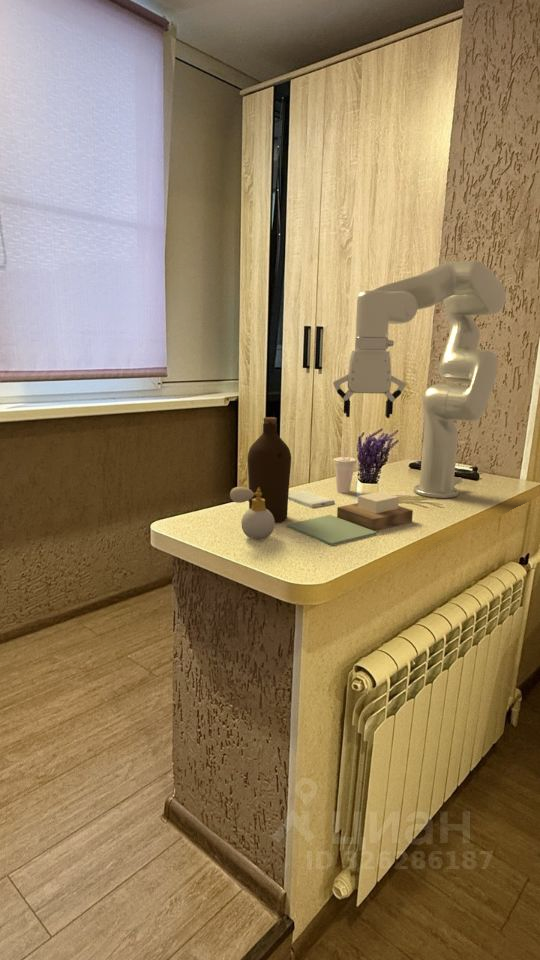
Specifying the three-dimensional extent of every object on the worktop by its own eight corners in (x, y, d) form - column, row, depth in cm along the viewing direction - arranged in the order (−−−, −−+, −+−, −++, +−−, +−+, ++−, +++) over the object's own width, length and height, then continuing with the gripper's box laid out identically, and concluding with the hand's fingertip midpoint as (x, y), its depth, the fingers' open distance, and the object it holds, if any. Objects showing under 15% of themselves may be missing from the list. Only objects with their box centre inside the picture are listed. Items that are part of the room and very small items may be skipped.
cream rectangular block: (380, 502, 153) (380, 491, 153) (398, 508, 149) (398, 496, 148) (357, 507, 149) (358, 495, 148) (375, 513, 144) (376, 501, 143)
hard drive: (283, 494, 168) (311, 503, 158) (305, 490, 173) (334, 499, 163) (282, 499, 168) (311, 509, 159) (305, 495, 173) (334, 505, 163)
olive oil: (297, 516, 151) (300, 417, 145) (275, 527, 142) (278, 422, 136) (261, 509, 156) (262, 413, 150) (238, 519, 147) (239, 418, 141)
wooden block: (376, 510, 158) (377, 499, 157) (411, 521, 148) (412, 510, 148) (337, 518, 150) (337, 507, 149) (372, 531, 140) (372, 519, 139)
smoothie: (327, 491, 176) (329, 444, 172) (340, 487, 180) (343, 441, 177) (345, 495, 172) (348, 447, 168) (358, 491, 176) (361, 444, 173)
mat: (330, 517, 151) (330, 514, 151) (376, 534, 138) (376, 531, 138) (286, 526, 143) (286, 524, 142) (331, 545, 130) (331, 543, 130)
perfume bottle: (281, 539, 134) (282, 487, 131) (245, 548, 128) (245, 493, 125) (261, 530, 139) (262, 480, 137) (226, 538, 134) (226, 486, 131)
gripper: (405, 345, 146) (401, 415, 150) (334, 344, 147) (331, 414, 151) (410, 346, 138) (405, 419, 142) (335, 345, 139) (332, 418, 144)
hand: (367, 416), depth 147 cm, fingers open, 9 cm apart
